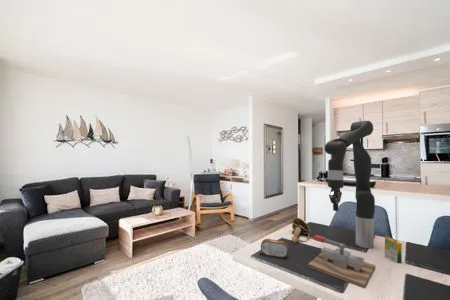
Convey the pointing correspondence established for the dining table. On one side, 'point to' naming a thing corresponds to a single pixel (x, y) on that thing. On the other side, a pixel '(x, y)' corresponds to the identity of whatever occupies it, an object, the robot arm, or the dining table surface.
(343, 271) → the walnut board
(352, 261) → the steel pipe and valve
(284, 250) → the tin
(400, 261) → the crayon box
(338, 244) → the lever
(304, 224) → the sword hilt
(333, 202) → the robot arm
